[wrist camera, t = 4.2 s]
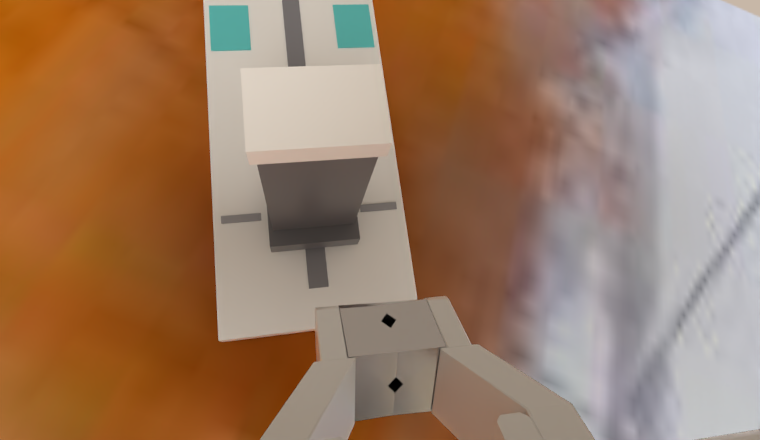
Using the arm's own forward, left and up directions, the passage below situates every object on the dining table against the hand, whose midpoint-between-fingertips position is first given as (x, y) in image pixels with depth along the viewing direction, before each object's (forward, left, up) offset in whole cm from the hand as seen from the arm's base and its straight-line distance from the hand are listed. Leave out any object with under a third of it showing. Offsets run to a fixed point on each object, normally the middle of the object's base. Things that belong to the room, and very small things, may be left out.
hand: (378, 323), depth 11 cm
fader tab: (+5, -4, -13) cm, 15 cm away
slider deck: (+10, -8, -15) cm, 20 cm away
